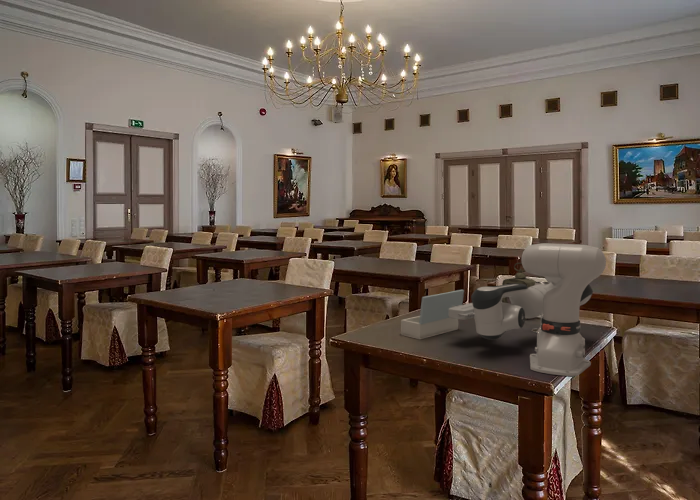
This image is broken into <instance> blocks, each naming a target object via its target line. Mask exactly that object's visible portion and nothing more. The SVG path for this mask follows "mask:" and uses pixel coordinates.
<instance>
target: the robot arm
mask: <svg viewBox="0 0 700 500" xmlns="http://www.w3.org/2000/svg"><path fill="white" fill-rule="evenodd" d="M522 251H523V252H522V255H521V259H520V260H521V263H522V264H521V265H522V267H523V270H525V272H526V273H528V274H530V275H535V276H539V277H544V279H545V280H546V282H548V283H549V284H539V285H534V286H531V287H529V288H528V287H527V286H526V285H524V284H517V283H515V284H506V285H502V284H501V285H495V286H481V287H477V288H476V289H475V290H474V291H473V292H472V293H471V296H470V299H471V302H469V303H466V304H465V303H464V304H462V305H454V306H452V308H449V317H450V318H454V319H458V320H468V319H470V320H471V319H474V323H475V330H476V334H477V335H478V336H480V337H481V338H482V339H485V340H493V341H494V340H498V339H500V338H501V337H502V336H503V335H504V334H505V333H506V332H507V331H510V330H519V329H522V328H523V327H524V325H525V322H526V319H525V318H528V319H533V318H534V319H535V318H537V317H539V316H541V314H543V317H542V319H541V318H540V325H541V331H540V332H539V333H536V346H535V347H534V349H533V350H534V351H535V352H536V353H530V354H529V366H530V370H531V371H534V372H537V373H543V374H548V375H554V376H555V375H557V376H564V377H565V376H566V377H578V376H579V375H580V374H582V373H583V372H584V371H586V370H587V369H588V368H589V367H591V365H592V363H591V361H590V360H588V359H586V339H585V337H583V335H581V333H580V332H581V328H582V327H581V326H582V324H581V320H580V307H581V306H583V305H585V304H587V303H588V301H590V300H591V297H592V296H593V293H594V290H593V288H592V286H591V285H590V283H592V282H593V281H594V280H595V279H597V278H599V277H601V275H602V274H603V272H604V271H605V270H606V265H607V258H606V256H605V254H604V252H603V250H602V248H600V247H597V246H592V245H587V244H579V243H577V244H573V243H550V242H549V243H547V242H546V243H545V242H544V243H543V242H542V243H535V244H530V245H527V246H526V247H525V249H524V250H522ZM504 297H509V299H510V301H511V304H509V303H502V298H504Z"/></svg>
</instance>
